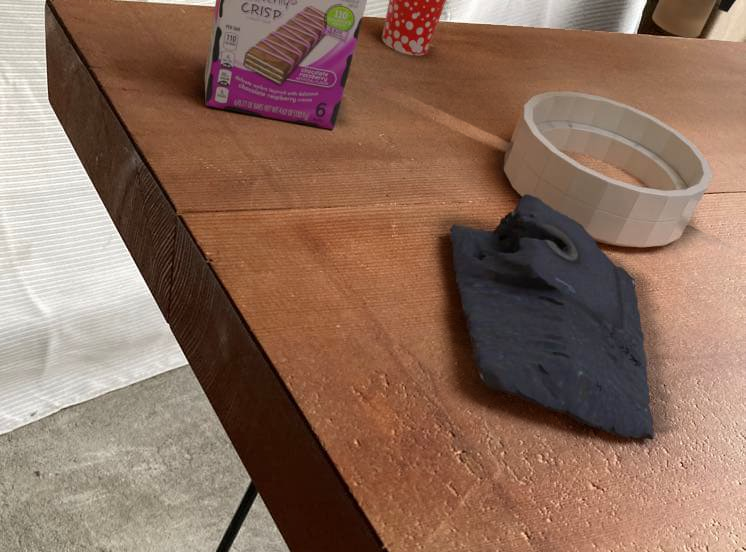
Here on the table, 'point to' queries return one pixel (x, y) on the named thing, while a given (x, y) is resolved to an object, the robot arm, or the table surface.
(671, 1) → the cylinder
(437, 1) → the beverage cup
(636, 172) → the wide hollow ring
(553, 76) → the table surface
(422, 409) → the table surface
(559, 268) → the dark slate chunk
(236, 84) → the candy bar box
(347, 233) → the table surface
